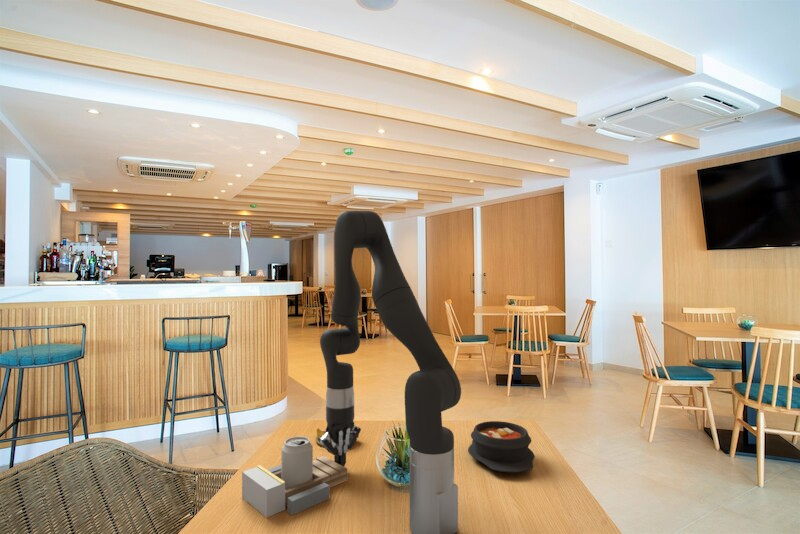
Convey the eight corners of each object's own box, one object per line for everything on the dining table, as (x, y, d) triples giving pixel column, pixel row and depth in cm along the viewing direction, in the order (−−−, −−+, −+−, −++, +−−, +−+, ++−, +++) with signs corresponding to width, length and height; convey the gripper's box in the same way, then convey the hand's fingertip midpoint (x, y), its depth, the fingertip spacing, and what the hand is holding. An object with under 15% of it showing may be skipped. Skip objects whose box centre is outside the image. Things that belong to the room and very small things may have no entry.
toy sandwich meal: (340, 430, 146) (340, 416, 146) (364, 442, 136) (364, 427, 136) (307, 440, 138) (307, 425, 138) (331, 453, 128) (331, 437, 128)
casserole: (550, 478, 112) (549, 446, 112) (479, 480, 111) (479, 447, 111) (517, 441, 137) (517, 414, 137) (460, 442, 135) (460, 415, 136)
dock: (329, 498, 102) (329, 471, 102) (273, 523, 91) (273, 494, 92) (289, 473, 114) (289, 449, 114) (236, 492, 104) (236, 466, 104)
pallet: (347, 480, 111) (347, 468, 111) (284, 506, 98) (284, 493, 98) (322, 466, 118) (322, 455, 118) (261, 489, 106) (261, 477, 106)
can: (306, 498, 102) (306, 447, 102) (276, 496, 103) (276, 445, 103) (316, 482, 109) (316, 435, 109) (288, 481, 110) (288, 433, 110)
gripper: (327, 412, 108) (327, 480, 108) (368, 400, 117) (368, 463, 118) (311, 405, 114) (311, 470, 114) (351, 394, 123) (351, 454, 123)
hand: (340, 466), depth 116 cm, fingers closed
